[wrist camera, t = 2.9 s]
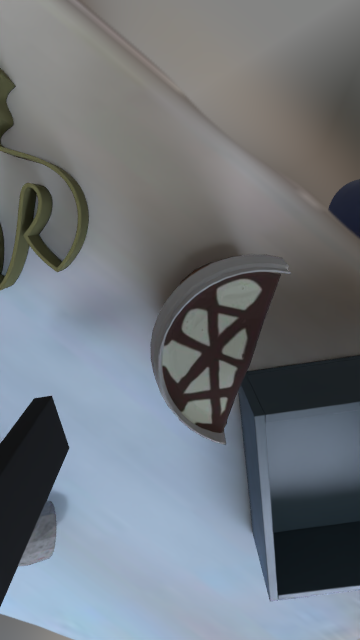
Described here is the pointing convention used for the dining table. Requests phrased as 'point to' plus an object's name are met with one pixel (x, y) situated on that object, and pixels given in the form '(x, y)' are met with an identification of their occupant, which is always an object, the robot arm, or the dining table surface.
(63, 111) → the dining table surface
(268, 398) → the tote
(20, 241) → the cookie cutter
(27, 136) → the dining table surface
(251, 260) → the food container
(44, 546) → the bouquet
